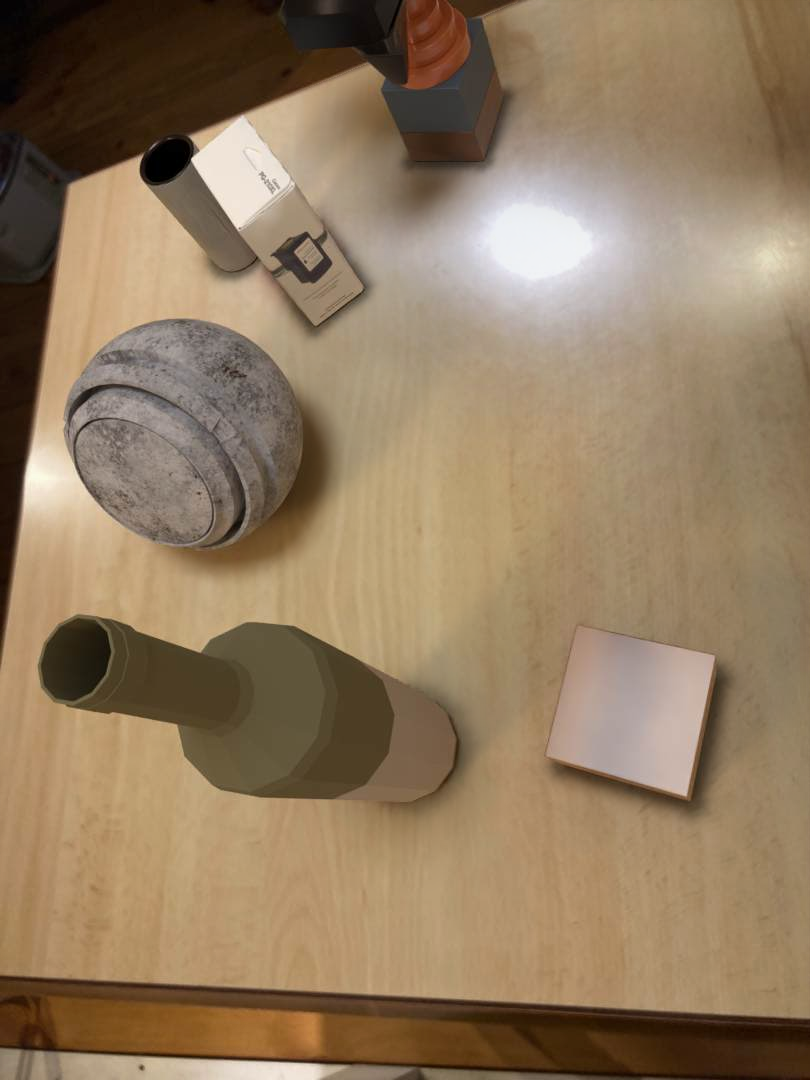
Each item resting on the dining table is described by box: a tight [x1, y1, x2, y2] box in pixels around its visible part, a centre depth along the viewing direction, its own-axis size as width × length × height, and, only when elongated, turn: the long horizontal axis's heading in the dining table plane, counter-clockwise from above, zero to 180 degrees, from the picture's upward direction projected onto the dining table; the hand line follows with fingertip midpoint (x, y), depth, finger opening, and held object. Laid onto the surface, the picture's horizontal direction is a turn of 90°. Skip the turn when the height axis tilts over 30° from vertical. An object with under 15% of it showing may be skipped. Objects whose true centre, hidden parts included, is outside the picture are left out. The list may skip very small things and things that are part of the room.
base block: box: [399, 65, 505, 162], centre depth 63 cm, size 6×6×3 cm
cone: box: [400, 0, 471, 90], centre depth 56 cm, size 6×6×5 cm
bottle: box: [37, 613, 458, 803], centre depth 37 cm, size 7×7×30 cm
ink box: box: [191, 114, 364, 327], centre depth 60 cm, size 8×5×12 cm, turn 31°
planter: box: [138, 132, 258, 272], centre depth 64 cm, size 4×4×10 cm
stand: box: [544, 624, 717, 802], centre depth 44 cm, size 7×7×6 cm
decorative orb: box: [62, 318, 304, 552], centre depth 54 cm, size 15×14×15 cm
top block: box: [380, 17, 496, 133], centre depth 60 cm, size 6×6×4 cm
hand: (420, 27), depth 56 cm, fingers open, 9 cm apart
